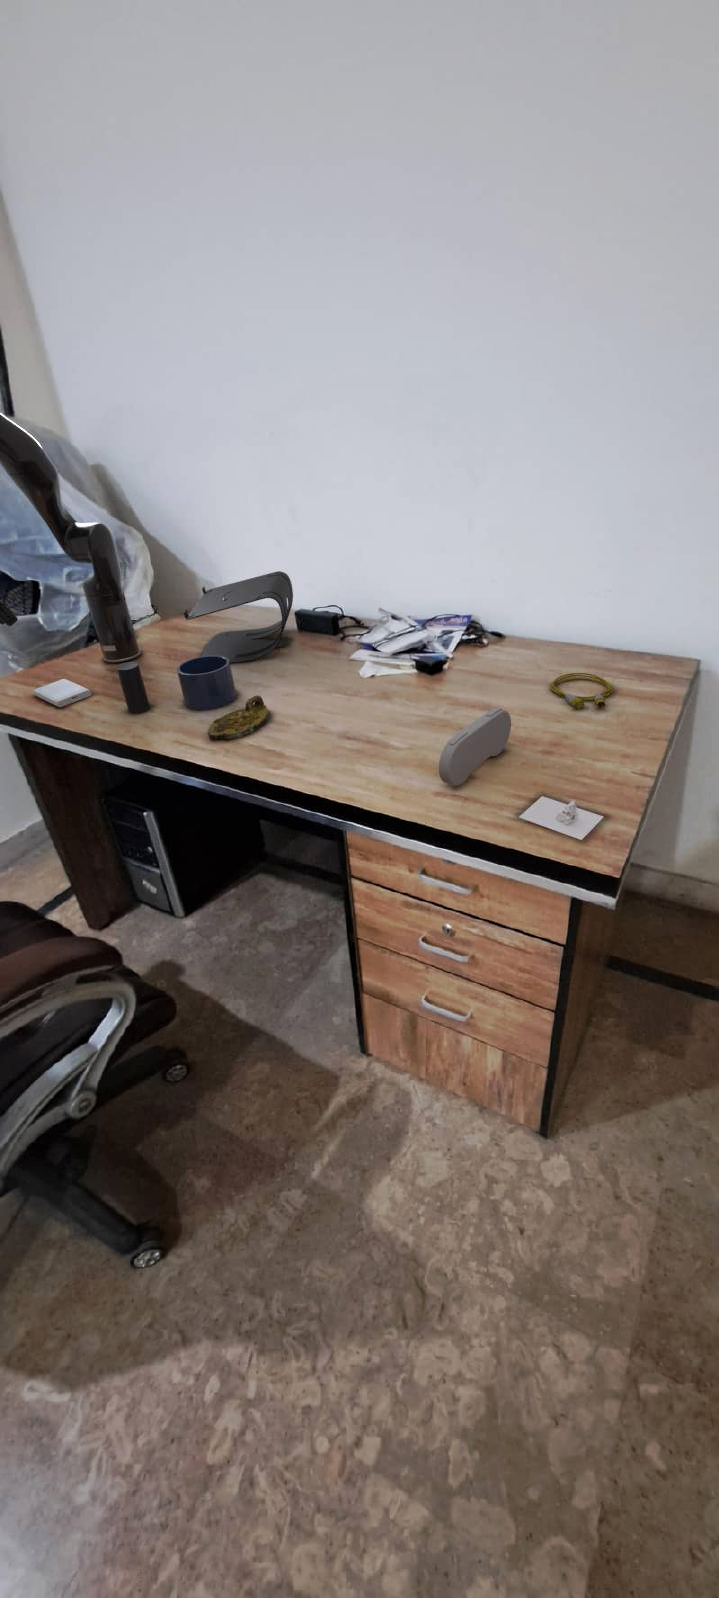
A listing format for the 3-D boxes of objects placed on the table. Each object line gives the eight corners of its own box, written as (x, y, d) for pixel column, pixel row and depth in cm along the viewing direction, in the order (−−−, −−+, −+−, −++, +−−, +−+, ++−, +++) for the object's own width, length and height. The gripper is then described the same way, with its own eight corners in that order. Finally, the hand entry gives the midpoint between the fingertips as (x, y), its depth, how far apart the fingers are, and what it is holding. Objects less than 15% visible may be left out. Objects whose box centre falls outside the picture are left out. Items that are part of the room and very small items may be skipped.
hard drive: (32, 689, 158) (56, 701, 151) (65, 677, 163) (90, 688, 155) (34, 696, 159) (59, 708, 151) (67, 684, 164) (92, 695, 156)
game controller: (499, 742, 121) (500, 699, 116) (510, 745, 119) (512, 702, 115) (437, 790, 109) (436, 745, 104) (449, 794, 107) (448, 748, 103)
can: (180, 696, 151) (172, 662, 147) (229, 684, 155) (222, 651, 150) (190, 714, 142) (182, 679, 138) (241, 701, 146) (235, 666, 141)
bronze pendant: (229, 751, 129) (281, 719, 138) (226, 729, 126) (280, 698, 136) (195, 736, 133) (248, 706, 143) (192, 715, 130) (246, 686, 140)
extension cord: (538, 705, 132) (539, 695, 131) (560, 675, 143) (561, 666, 142) (602, 713, 127) (603, 704, 126) (620, 682, 138) (621, 672, 137)
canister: (127, 707, 148) (114, 664, 143) (148, 702, 150) (136, 660, 144) (130, 715, 145) (117, 671, 139) (151, 710, 146) (139, 666, 141)
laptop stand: (288, 659, 165) (279, 596, 157) (193, 667, 166) (179, 604, 158) (298, 626, 187) (290, 569, 178) (214, 632, 188) (202, 576, 180)
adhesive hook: (570, 827, 97) (572, 809, 96) (553, 821, 99) (555, 803, 97) (580, 817, 99) (582, 800, 97) (563, 812, 101) (565, 794, 99)
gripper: (-41, 532, 114) (32, 610, 123) (-49, 537, 126) (19, 609, 135) (-77, 559, 112) (0, 637, 122) (-82, 562, 124) (-11, 633, 133)
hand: (10, 622), depth 128 cm, fingers open, 8 cm apart
